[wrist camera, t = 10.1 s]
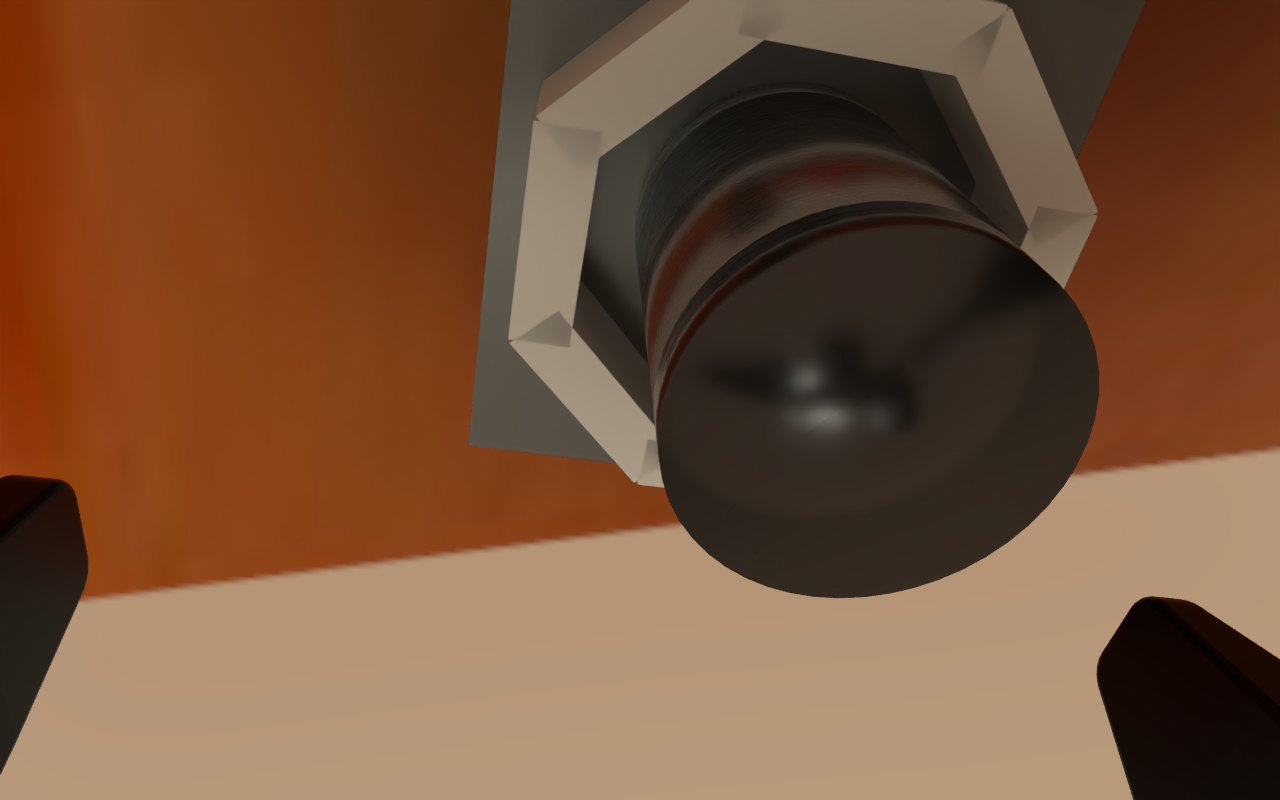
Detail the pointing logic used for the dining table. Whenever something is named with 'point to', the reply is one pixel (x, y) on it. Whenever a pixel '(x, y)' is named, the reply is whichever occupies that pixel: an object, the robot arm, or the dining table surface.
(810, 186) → the lens
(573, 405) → the camera body
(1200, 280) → the dining table surface
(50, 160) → the dining table surface
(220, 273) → the dining table surface
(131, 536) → the dining table surface
